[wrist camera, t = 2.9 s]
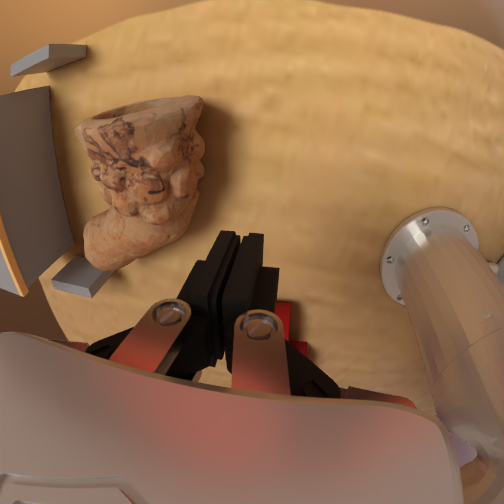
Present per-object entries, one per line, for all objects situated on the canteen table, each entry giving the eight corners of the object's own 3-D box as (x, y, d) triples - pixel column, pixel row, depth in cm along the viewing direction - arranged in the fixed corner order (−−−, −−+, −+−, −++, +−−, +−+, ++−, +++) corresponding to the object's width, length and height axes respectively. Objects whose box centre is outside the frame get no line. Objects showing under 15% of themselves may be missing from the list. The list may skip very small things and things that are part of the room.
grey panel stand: (86, 45, 21) (1, 46, 11) (115, 270, 36) (65, 331, 26) (26, 71, 22) (-46, 86, 12) (59, 260, 37) (11, 309, 27)
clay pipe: (260, 165, 30) (182, 46, 20) (264, 234, 23) (144, 65, 13) (132, 230, 36) (56, 149, 27) (108, 296, 29) (7, 206, 19)
